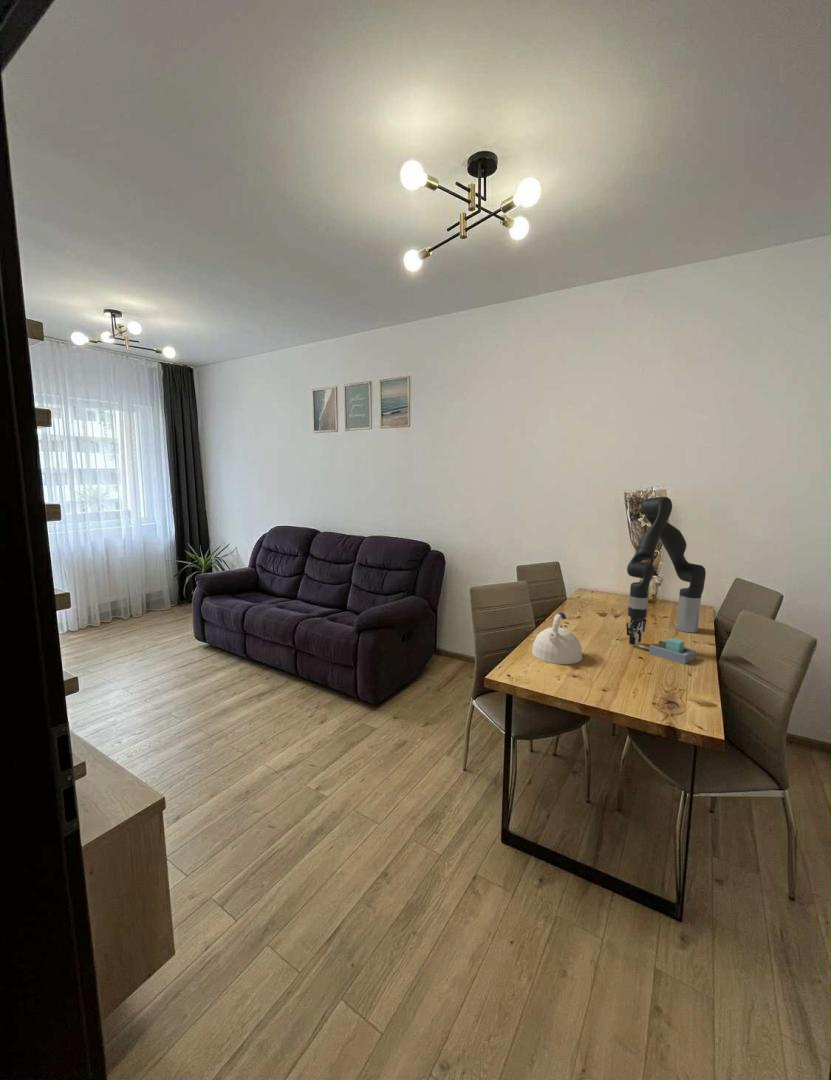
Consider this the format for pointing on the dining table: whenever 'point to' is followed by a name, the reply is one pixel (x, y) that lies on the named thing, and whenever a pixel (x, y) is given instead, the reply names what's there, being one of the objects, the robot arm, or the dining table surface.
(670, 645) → the tethered block
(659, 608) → the dining table surface
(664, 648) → the lane
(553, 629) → the kettle
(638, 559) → the robot arm
